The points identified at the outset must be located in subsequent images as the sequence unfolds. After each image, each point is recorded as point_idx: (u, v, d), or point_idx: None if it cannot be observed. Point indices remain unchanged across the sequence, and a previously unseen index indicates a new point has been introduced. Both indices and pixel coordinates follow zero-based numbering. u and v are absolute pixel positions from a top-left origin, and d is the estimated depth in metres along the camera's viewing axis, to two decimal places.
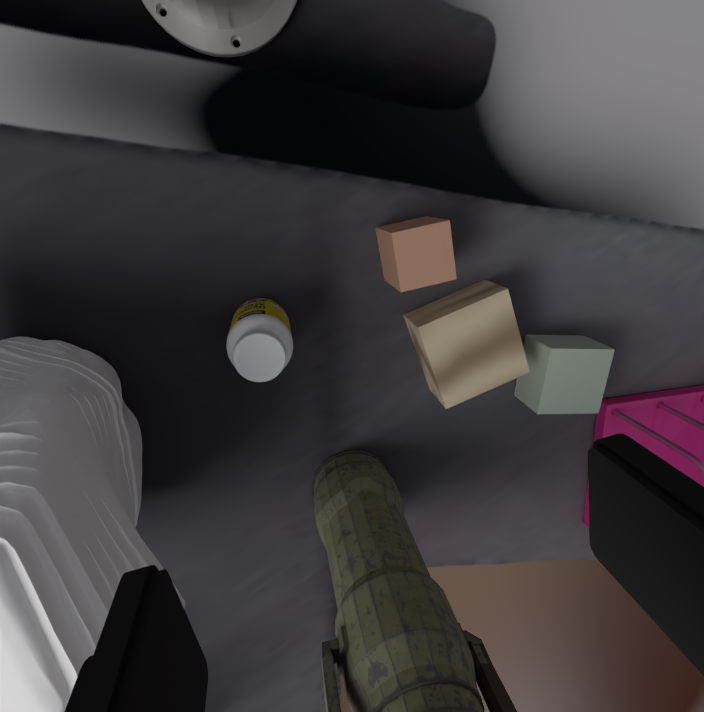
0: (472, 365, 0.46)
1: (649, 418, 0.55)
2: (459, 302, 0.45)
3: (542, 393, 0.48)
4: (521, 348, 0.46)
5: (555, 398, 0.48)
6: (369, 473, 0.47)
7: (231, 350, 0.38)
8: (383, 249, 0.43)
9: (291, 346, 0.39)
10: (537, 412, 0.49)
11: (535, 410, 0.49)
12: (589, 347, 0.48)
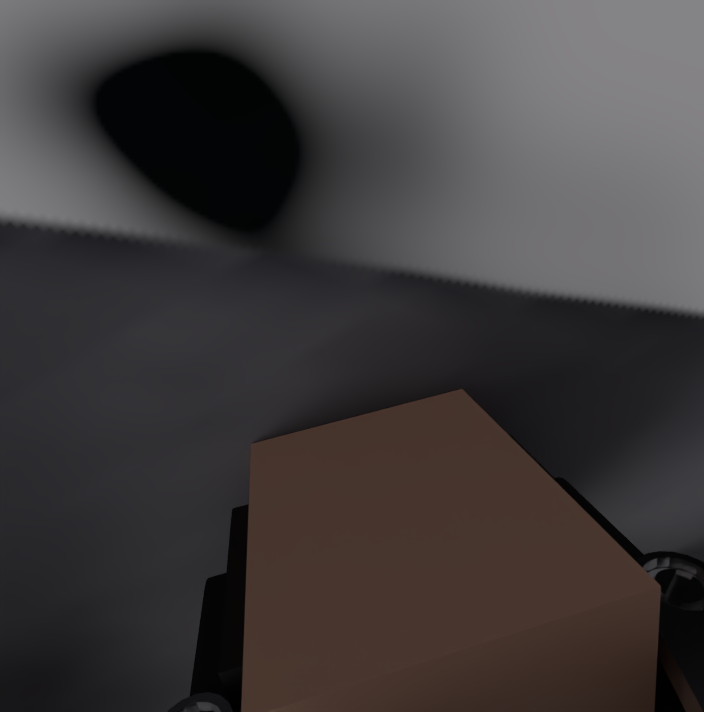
0: None
1: None
2: None
3: None
4: None
5: None
6: None
7: None
8: None
9: None
10: None
11: None
12: None
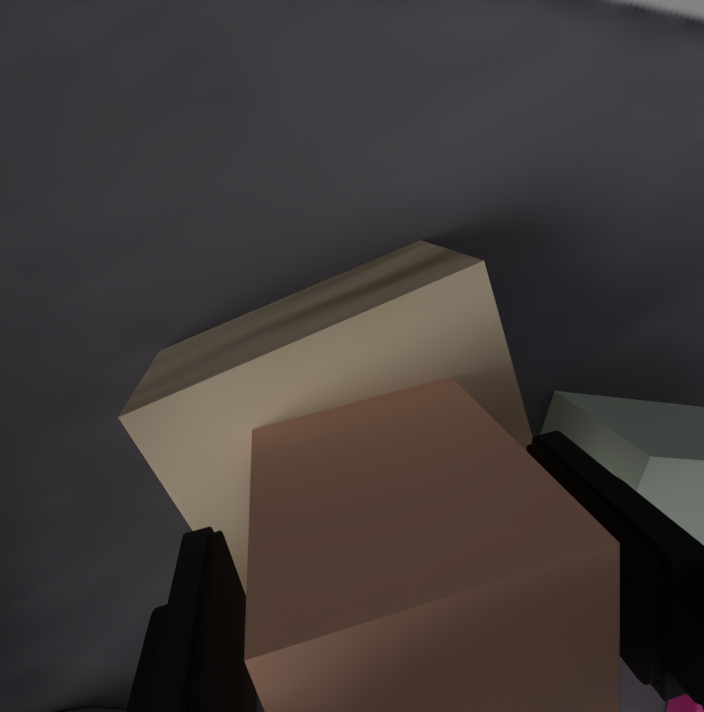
0: None
1: None
2: (312, 312, 0.13)
3: None
4: None
5: None
6: None
7: None
8: None
9: None
10: None
11: None
12: None
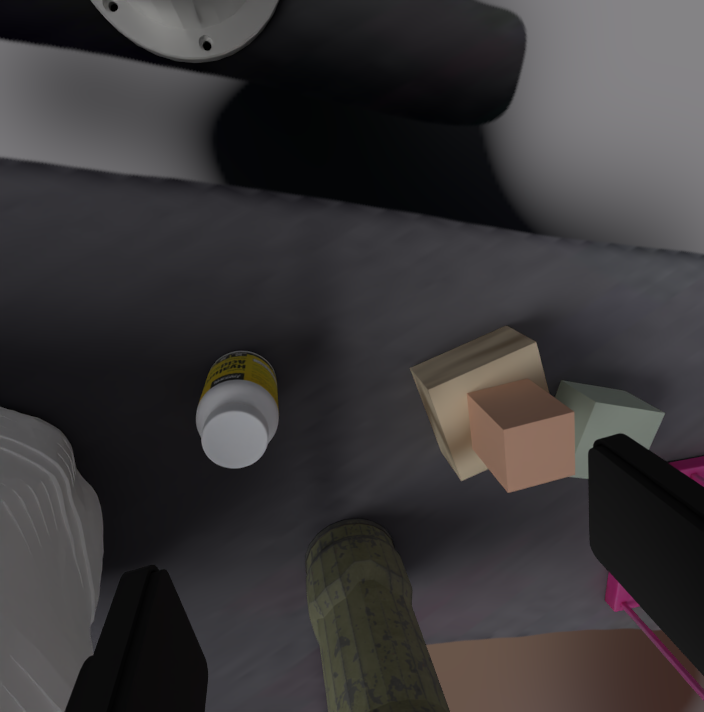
0: None
1: None
2: (477, 356, 0.38)
3: (576, 452, 0.40)
4: None
5: None
6: (372, 554, 0.40)
7: (201, 426, 0.31)
8: (479, 425, 0.36)
9: (276, 418, 0.32)
10: None
11: None
12: (636, 406, 0.41)
